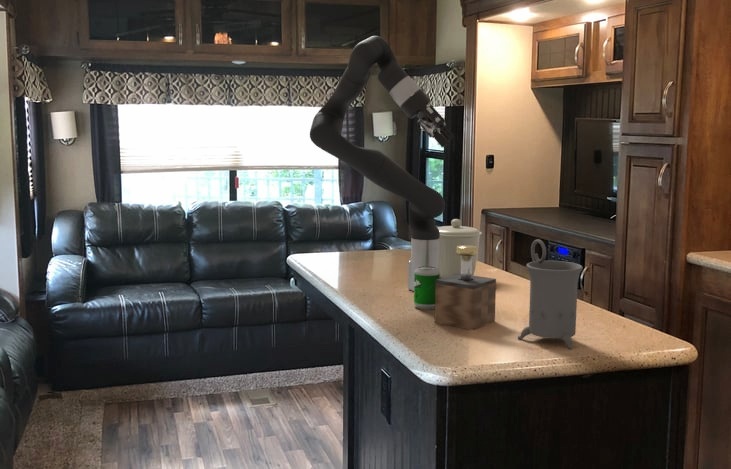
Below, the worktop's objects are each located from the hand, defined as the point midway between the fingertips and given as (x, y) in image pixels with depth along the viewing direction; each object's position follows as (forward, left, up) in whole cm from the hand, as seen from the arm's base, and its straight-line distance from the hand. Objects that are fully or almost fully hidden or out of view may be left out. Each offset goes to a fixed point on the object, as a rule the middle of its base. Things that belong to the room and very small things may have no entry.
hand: (448, 142), depth 214 cm
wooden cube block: (+6, 0, -49) cm, 50 cm away
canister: (-29, +52, -49) cm, 78 cm away
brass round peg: (+6, 0, -40) cm, 41 cm away
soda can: (-12, +8, -49) cm, 52 cm away
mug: (+32, -2, -49) cm, 59 cm away
